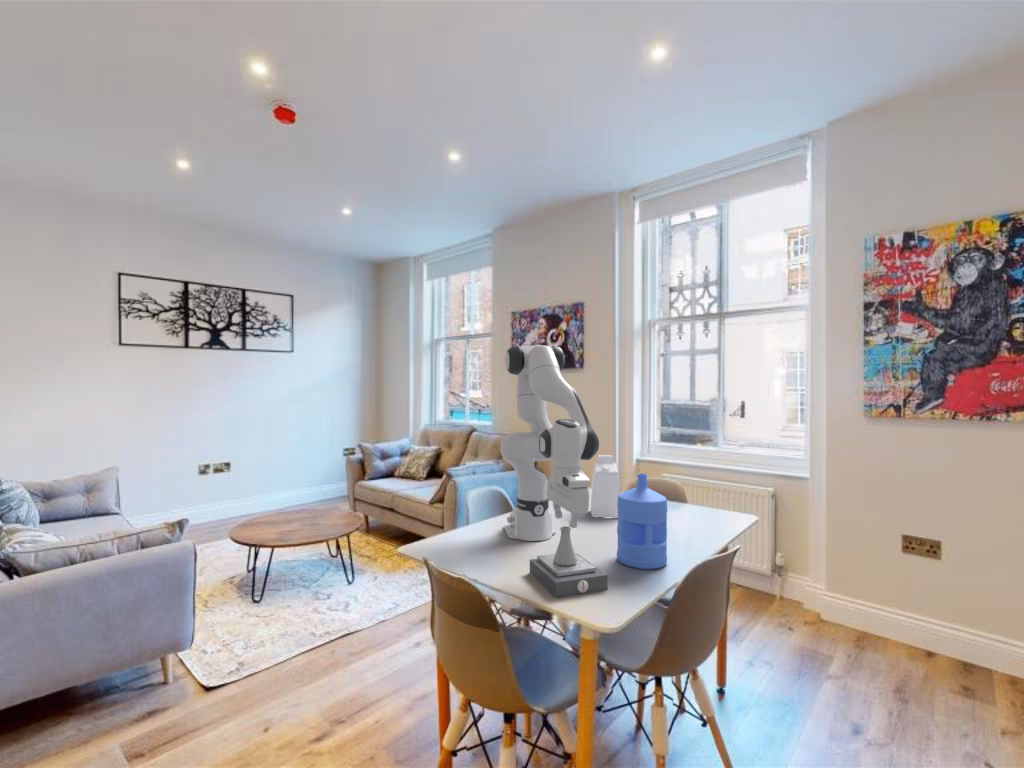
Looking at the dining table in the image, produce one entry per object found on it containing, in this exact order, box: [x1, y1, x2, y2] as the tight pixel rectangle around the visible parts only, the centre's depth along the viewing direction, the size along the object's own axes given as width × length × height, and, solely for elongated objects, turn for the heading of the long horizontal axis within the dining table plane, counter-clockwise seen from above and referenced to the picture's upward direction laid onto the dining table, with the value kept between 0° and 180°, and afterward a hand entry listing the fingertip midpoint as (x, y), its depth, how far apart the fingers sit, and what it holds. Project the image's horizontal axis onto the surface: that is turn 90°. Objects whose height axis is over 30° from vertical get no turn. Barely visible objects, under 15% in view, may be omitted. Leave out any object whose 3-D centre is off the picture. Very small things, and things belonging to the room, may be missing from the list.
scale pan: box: [536, 553, 597, 577], centre depth 141 cm, size 14×12×1 cm
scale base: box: [529, 553, 609, 598], centre depth 140 cm, size 19×16×4 cm
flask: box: [553, 525, 578, 565], centre depth 141 cm, size 7×7×10 cm
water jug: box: [616, 473, 668, 570], centre depth 156 cm, size 16×16×28 cm
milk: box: [590, 455, 621, 518], centre depth 213 cm, size 12×12×26 cm
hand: (565, 522), depth 141 cm, fingers open, 8 cm apart
